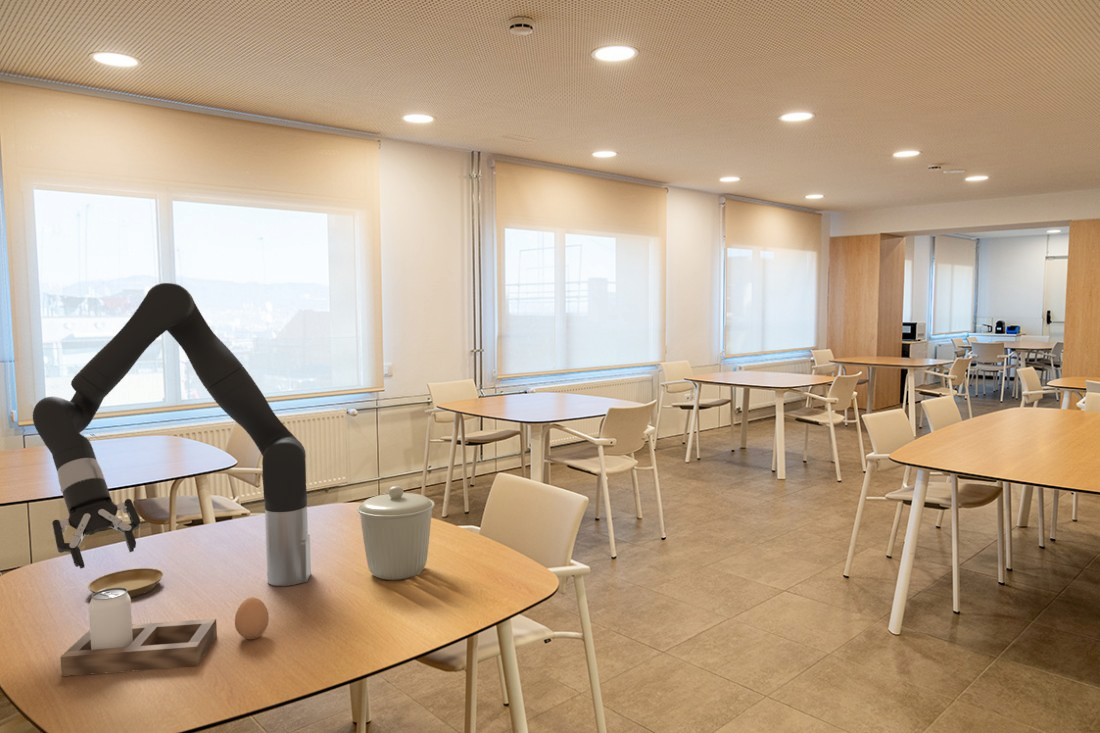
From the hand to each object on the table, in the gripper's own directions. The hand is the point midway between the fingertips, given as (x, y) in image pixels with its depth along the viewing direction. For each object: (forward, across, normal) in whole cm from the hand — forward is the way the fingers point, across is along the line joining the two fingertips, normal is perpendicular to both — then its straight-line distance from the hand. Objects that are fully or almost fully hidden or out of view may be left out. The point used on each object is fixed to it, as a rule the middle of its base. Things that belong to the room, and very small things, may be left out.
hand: (107, 558), depth 142 cm
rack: (+21, 0, -4) cm, 21 cm away
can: (+19, -4, -2) cm, 20 cm away
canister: (+24, +55, +7) cm, 61 cm away
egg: (+27, +17, -7) cm, 33 cm away
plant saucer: (0, +4, +28) cm, 28 cm away
